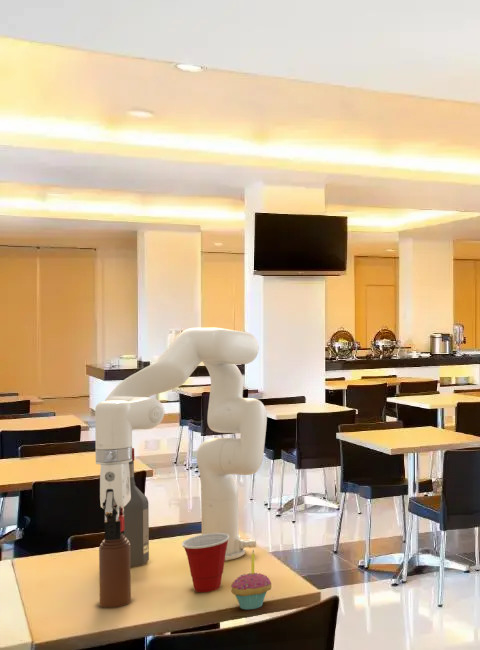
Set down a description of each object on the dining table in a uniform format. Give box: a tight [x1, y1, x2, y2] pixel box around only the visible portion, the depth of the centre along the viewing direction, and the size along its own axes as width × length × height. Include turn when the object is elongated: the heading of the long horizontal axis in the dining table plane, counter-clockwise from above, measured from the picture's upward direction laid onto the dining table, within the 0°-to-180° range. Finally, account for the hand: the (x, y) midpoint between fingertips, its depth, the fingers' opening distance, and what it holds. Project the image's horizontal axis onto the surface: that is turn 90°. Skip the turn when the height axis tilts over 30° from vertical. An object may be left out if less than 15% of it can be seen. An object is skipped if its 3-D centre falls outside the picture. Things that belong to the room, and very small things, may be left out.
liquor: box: [113, 447, 150, 568], centre depth 228 cm, size 9×9×30 cm
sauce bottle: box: [98, 533, 132, 609], centre depth 197 cm, size 6×6×19 cm
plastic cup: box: [181, 533, 230, 593], centre depth 206 cm, size 11×11×12 cm
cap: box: [119, 515, 125, 532], centre depth 197 cm, size 4×4×3 cm
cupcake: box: [230, 549, 272, 611], centre depth 193 cm, size 9×8×12 cm
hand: (114, 536), depth 197 cm, fingers closed on cap, 3 cm apart
